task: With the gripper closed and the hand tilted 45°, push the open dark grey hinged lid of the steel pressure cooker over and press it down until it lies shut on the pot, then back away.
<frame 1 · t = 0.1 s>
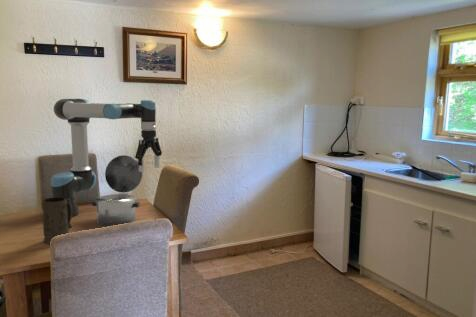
hand: (149, 169, 207), 28 cm above the table, tool pointing down, fingers open, 13 cm apart
beer stein: (60, 238, 182), on the table
cooker lid: (124, 174, 220), point 23 cm above the table, hinge at 103.0°
cooker pot: (116, 220, 210), on the table
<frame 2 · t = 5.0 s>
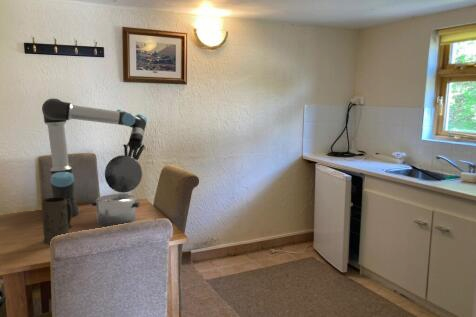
hand: (128, 168, 223), 25 cm above the table, tool tilted 45°, fingers closed
cooker lid: (124, 173, 220), point 23 cm above the table, hinge at 100.0°, touching gripper
everything else where it was.
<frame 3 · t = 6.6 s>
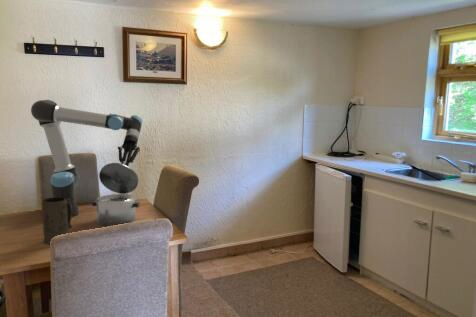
hand: (122, 172, 213), 25 cm above the table, tool tilted 45°, fingers closed
cooker lid: (119, 177, 213), point 22 cm above the table, hinge at 60.3°, touching gripper
everything else where it was.
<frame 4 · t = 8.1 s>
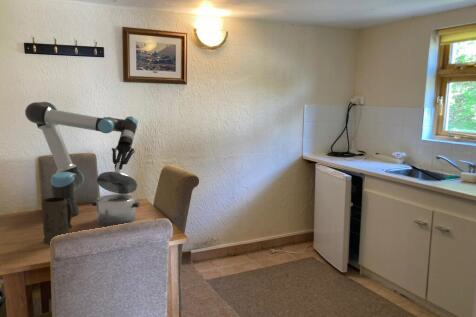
hand: (116, 174, 208), 25 cm above the table, tool tilted 45°, fingers closed
cooker lid: (117, 181, 210), point 21 cm above the table, hinge at 42.7°, touching gripper
everything else where it was.
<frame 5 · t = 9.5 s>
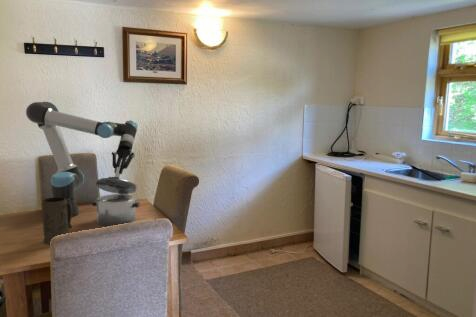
hand: (116, 178, 207), 23 cm above the table, tool tilted 45°, fingers closed
cooker lid: (116, 184, 209), point 19 cm above the table, hinge at 32.8°, touching gripper
everything else where it was.
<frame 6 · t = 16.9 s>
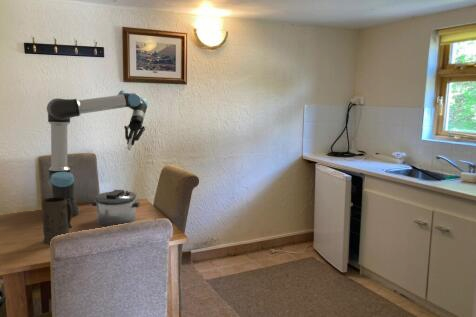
hand: (128, 148, 227), 36 cm above the table, tool tilted 45°, fingers closed
cooker lid: (115, 195, 208), point 14 cm above the table, hinge at -0.1°
everything else where it was.
at the end: cooker lid at +0° (first picture: +103°); beer stein moved 0.2 cm from its start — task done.
